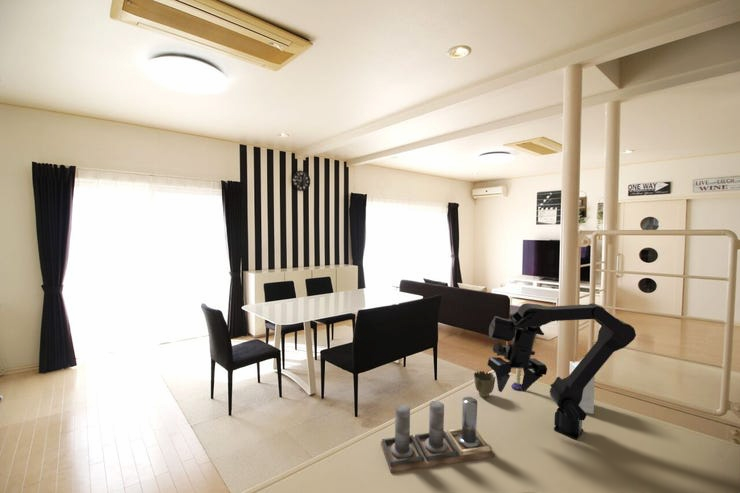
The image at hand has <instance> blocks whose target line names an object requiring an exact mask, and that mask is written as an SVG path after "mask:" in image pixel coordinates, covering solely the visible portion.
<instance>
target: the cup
mask: <svg viewBox="0 0 740 493" xmlns="http://www.w3.org/2000/svg"><path fill="white" fill-rule="evenodd" d="M473 376H474V385H475V389H476V390H477V391H478V395H479V396H480V397H482V398H484V399H485V398H489V397H490V394H491V393H492V392H493V391H494V388H495V382H496V376H494V374H492V372H488V371H486V372H485V371H484V370H479V371H474V374H473Z"/></svg>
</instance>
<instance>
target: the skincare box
mask: <svg viewBox="0 0 740 493" xmlns="http://www.w3.org/2000/svg"><path fill="white" fill-rule="evenodd" d="M580 362H581V361H572V360H571V361H570V360H569V375H570V374H571V373H572V371H573V370H574V369H575V368H576V366H577V365H578V364H579V363H580ZM579 406H580V407H581V408H582V409H583V410H584V412H585V413H586V414H589V415H594V412H595V411H594V410H595V409H594V408H595V376H594V377H593V378H592V379H591V380H590V382H589V383H588V384H587V385H586V387H585V388H584V390H583V395H582V400H581V402H580V404H579Z"/></svg>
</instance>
